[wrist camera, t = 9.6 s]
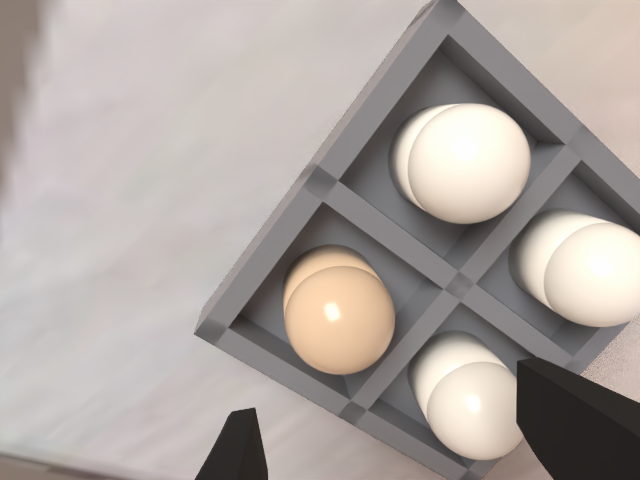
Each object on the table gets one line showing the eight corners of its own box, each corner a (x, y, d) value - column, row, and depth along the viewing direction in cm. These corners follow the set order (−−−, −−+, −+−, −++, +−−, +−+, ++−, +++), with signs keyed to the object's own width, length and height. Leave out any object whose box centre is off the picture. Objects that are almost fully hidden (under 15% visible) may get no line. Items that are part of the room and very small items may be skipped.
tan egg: (372, 237, 19) (406, 278, 14) (380, 323, 21) (413, 387, 16) (275, 252, 19) (277, 299, 14) (289, 339, 20) (296, 409, 15)
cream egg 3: (612, 242, 21) (714, 280, 16) (550, 311, 21) (630, 367, 17) (552, 189, 20) (643, 213, 15) (489, 263, 20) (556, 309, 16)
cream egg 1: (505, 147, 19) (584, 158, 14) (440, 225, 19) (496, 262, 15) (432, 82, 18) (492, 70, 13) (367, 168, 18) (401, 187, 14)
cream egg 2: (507, 358, 22) (573, 425, 17) (452, 419, 23) (500, 500, 18) (445, 314, 21) (498, 373, 16) (389, 380, 22) (423, 456, 17)
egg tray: (658, 229, 21) (704, 242, 19) (450, 455, 24) (469, 491, 22) (422, 7, 17) (446, -10, 15) (202, 309, 20) (193, 333, 18)
